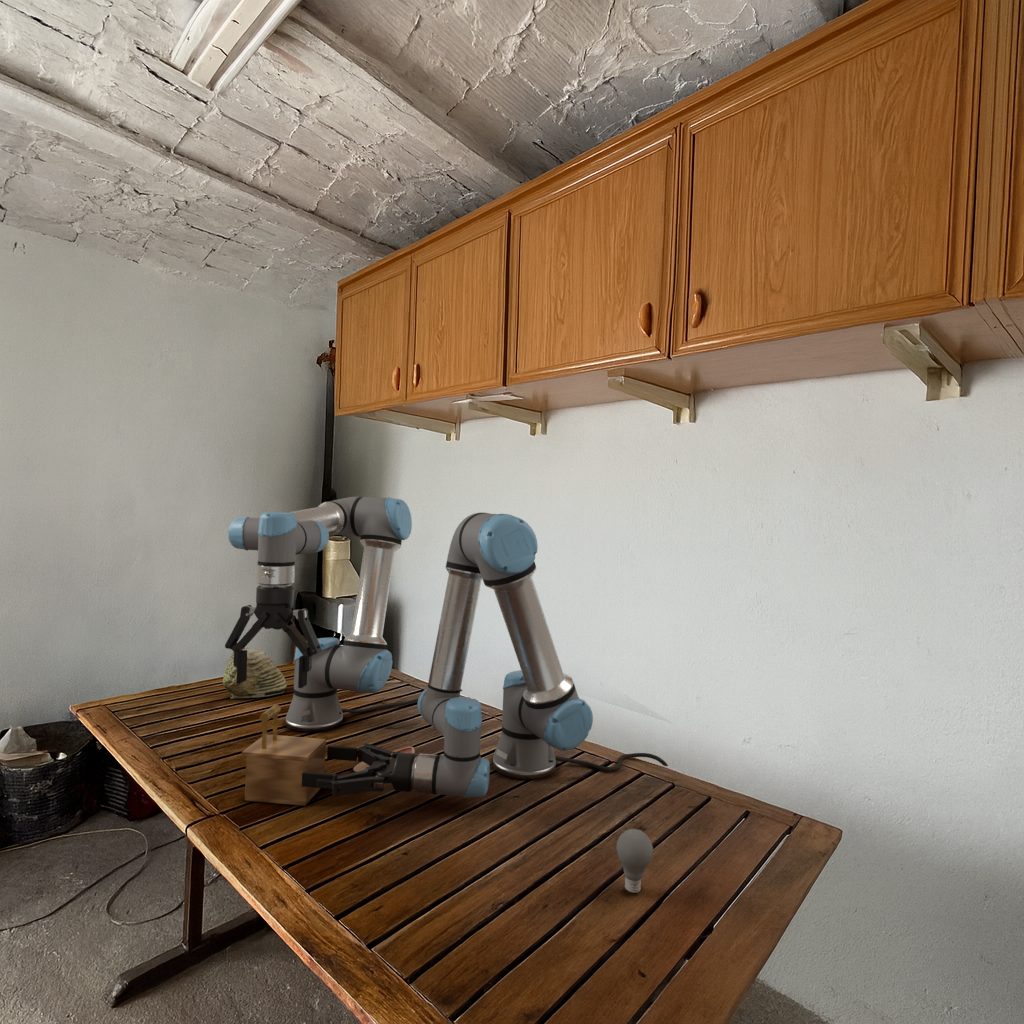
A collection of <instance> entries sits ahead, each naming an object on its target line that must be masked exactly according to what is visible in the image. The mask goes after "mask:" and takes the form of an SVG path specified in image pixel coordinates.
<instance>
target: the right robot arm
mask: <svg viewBox="0 0 1024 1024" xmlns="http://www.w3.org/2000/svg"><path fill="white" fill-rule="evenodd" d="M538 545H539V544H538V539H537V536H536V534H535V531H534V530H533V528H532V527H531V526H530V524H529V523H528V522H527V521H525V520H524V519H523V518H520V517H517V516H515V515H513V514H509V513H489V512H476V513H472V514H470V515H468V516H466V517H465V518H463V519H462V521H461V522H460V523H459V524H458V525H457V527H456V528H455V530H454V533H453V535H452V538H451V541H450V545H449V548H448V553H447V558H446V563H445V570H446V571H447V573H448V575H447V576H448V577H447V583H446V587H445V591H444V592H445V593H444V598H443V604H442V608H441V614H440V619H439V625H438V630H437V635H436V640H435V646H434V651H433V656H432V662H431V666H430V672H429V678H428V681H427V688H425V689H424V690H423V691H422V692H421V694H420V695H419V696H418V698H419V699H418V701H417V710H418V713H419V714H420V715H421V717H422V719H423V720H424V721H425V722H426V723H428V724H429V725H430V726H432V727H433V728H434V729H435V730H436V731H437V732H438V733H439V734H440V735H441V736H442V737H443V742H444V743H443V755H441V754H434V753H433V754H432V753H431V754H429V753H419V754H416V752H415V753H404V752H401V753H400V752H393V751H394V750H389V749H386V748H382V747H379V746H377V745H373V744H370V743H364V744H363V746H358V747H355V746H353V747H352V746H341V745H340V746H339V745H328V746H327V747H326V749H327V751H326V759H327V760H336V761H349V762H357V763H361V762H364V763H366V764H367V765H369V766H370V767H366V768H365V770H363V771H358V772H355V771H354V772H349V773H346V774H341V775H338V774H337V773H336V772H334V773H328V772H325V773H316V772H303V773H302V787H314V788H320V789H325V790H327V789H328V790H332V794H331V795H332V796H333V797H336V796H337V797H338V796H345V795H355V794H360V793H367V792H368V793H369V792H384V791H385V784H391V785H392V788H393V790H394V791H395V792H403V793H411V792H412V791H413V792H414V793H417V794H425V795H427V796H430V795H431V794H432V795H440V796H441V795H442V796H453V797H463V799H465V798H483V797H485V796H486V795H487V793H488V790H489V785H490V776H491V775H490V773H491V771H490V770H491V768H490V767H491V763H490V760H489V759H488V758H484V757H481V739H482V725H483V716H482V704H481V703H480V701H479V700H478V699H477V698H473V697H470V696H461V691H460V690H462V683H463V680H464V673H465V670H466V669H465V668H466V663H467V658H468V652H469V647H470V643H471V637H472V632H473V626H474V623H475V616H476V611H477V606H478V600H479V596H480V591H481V585H482V582H483V584H484V587H487V588H489V589H491V590H493V591H494V594H495V598H496V600H497V604H498V606H499V608H500V612H501V615H502V618H503V621H504V623H505V626H506V630H507V632H508V635H509V638H510V642H511V644H512V647H513V650H514V653H515V657H516V658H517V662H518V664H519V667H520V670H519V669H518V670H513V671H509V672H508V673H506V674H505V676H504V679H503V687H502V714H501V715H502V716H501V718H502V719H501V733H500V737H499V739H498V743H497V745H496V747H495V750H494V752H493V756H492V767H493V769H494V770H495V771H496V772H498V773H499V774H501V775H503V776H505V777H508V778H511V779H517V780H538V779H539V780H540V779H543V778H546V777H548V776H550V775H552V774H554V772H555V771H556V769H557V767H556V766H557V761H558V762H564V763H570V764H575V765H576V764H577V765H581V766H586V767H590V768H592V769H596V770H599V771H603V772H616V771H618V770H620V769H621V768H622V766H623V765H622V764H623V761H624V760H625V759H632V758H647V759H652V760H654V761H657V762H658V763H660V764H661V765H662V766H664V767H668V766H669V765H668V763H667V762H666V761H665V760H664V759H662V758H661V757H660V756H658V755H655V754H653V753H648V752H636V753H635V752H634V753H625V754H622V755H620V756H619V757H618V759H617V765H614V766H604V765H601V764H600V765H599V764H597V763H593V762H590V761H586V760H581V759H575V758H571V757H570V758H569V757H564V756H558V755H557V756H556V754H555V751H554V749H556V750H559V751H565V752H566V751H572V750H573V749H576V748H577V747H579V746H581V745H582V744H583V743H584V741H586V738H587V737H588V736H589V732H590V731H591V729H592V727H593V723H594V722H593V721H594V715H593V710H592V707H591V706H590V705H589V704H588V703H587V701H586V700H584V699H583V698H580V697H579V694H578V692H577V689H576V686H575V682H574V680H573V678H572V676H570V675H569V674H566V673H565V672H564V670H563V668H562V664H561V662H560V658H559V655H558V653H557V649H556V646H555V643H554V639H553V637H552V634H551V632H550V628H549V625H548V622H547V619H546V616H545V612H544V610H543V607H542V603H541V599H540V597H539V594H538V591H537V588H536V585H535V583H534V582H535V581H534V579H533V576H534V574H535V572H536V570H537V565H536V562H535V561H536V554H537V553H538Z"/></svg>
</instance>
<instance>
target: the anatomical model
mask: <svg viewBox="0 0 1024 1024" xmlns="http://www.w3.org/2000/svg"><path fill="white" fill-rule="evenodd" d="M392 751H393V752H400V753H401V752H404V753H415V754H416V749H415V747H413V746H406V747H405V746H404V747H401V748H398V749H394V750H392ZM366 767H370V766H369V765H367V764H366V763H364V762H362V761H361V762H358V764H356V765H355V766H354V767H353V768H352V770H353V771H354V772H358V771H363V770H365V768H366Z"/></svg>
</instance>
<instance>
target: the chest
mask: <svg viewBox="0 0 1024 1024" xmlns="http://www.w3.org/2000/svg"><path fill="white" fill-rule="evenodd" d="M326 749H327V742H326V743H325V744H324V745H323V746H322V747H321V748H320V749H319V750H318V751H317V752H316V753H315V754H314V755H313V756H312V757H311V758H310V759H309V760H308V761H298V760H286V759H274V758H262V757H250V756H245V778H244V779H245V783H244V784H245V785H244V801H249V802H259V803H268V804H269V803H271V804H282V805H292V806H304V807H306V806H307V804H309V802H310V801H311V800H312V799H313V797H314V796H315V795H316V794H317V793H318V792H319V791H320V790H321V788H314V787H302V773H303V772H316V773H326V753H327V751H326Z"/></svg>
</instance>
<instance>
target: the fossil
mask: <svg viewBox="0 0 1024 1024" xmlns="http://www.w3.org/2000/svg"><path fill="white" fill-rule="evenodd" d="M243 650H247V676H246V681H244V682H242V683H240V684H238V683H237V667H234V651H232V653H231V656H230V657H229V659H228V660H227V663H226V666H225V668H224V671H223V675H222V676H223V677H222V685H223V687H224V688H225V690H226V691H228V693H229V698H230V699H250V698H264V697H271V696H275V695H281V694H284V693H285V691H286V689H287V687H288V686H287V680H286V678H285V676H284V674H283V673H282V672H281V669H279V668H278V667H277V665H276V663H275V662H274V660H273V659H272V658H271V657H270V656H269V655H268V654H267V653H266V652H265V650H264V649H263V648H260V647H258V648H251V647H247V646H245V649H243Z"/></svg>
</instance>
